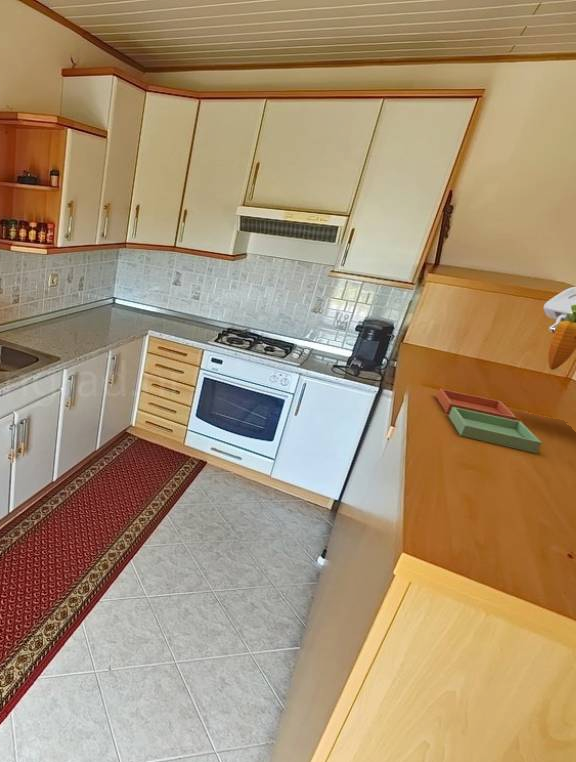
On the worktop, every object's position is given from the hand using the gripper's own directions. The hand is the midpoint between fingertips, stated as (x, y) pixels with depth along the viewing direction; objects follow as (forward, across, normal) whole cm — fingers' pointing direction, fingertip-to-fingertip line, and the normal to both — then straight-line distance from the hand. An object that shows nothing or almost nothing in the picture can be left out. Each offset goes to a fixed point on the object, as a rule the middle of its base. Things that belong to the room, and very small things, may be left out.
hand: (565, 334), depth 110 cm
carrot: (+6, 0, -6) cm, 9 cm away
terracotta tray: (+21, +7, -11) cm, 25 cm away
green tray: (+27, -6, -6) cm, 28 cm away
